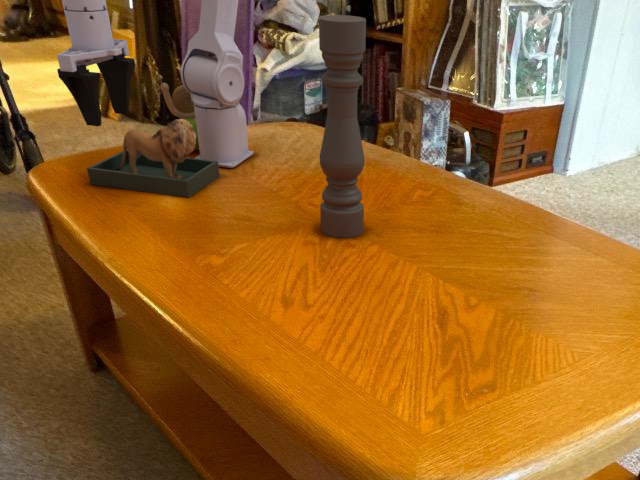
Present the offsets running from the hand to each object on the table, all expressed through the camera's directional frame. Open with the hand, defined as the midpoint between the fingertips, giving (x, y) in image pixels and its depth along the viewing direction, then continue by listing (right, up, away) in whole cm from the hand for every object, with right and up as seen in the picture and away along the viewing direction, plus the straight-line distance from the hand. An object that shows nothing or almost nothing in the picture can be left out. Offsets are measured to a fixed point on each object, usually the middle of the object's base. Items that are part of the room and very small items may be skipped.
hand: (108, 119), depth 102 cm
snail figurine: (+6, +6, +21) cm, 23 cm away
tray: (+5, -5, +8) cm, 11 cm away
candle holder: (+36, -19, -5) cm, 41 cm away
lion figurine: (+5, -5, +8) cm, 11 cm away
